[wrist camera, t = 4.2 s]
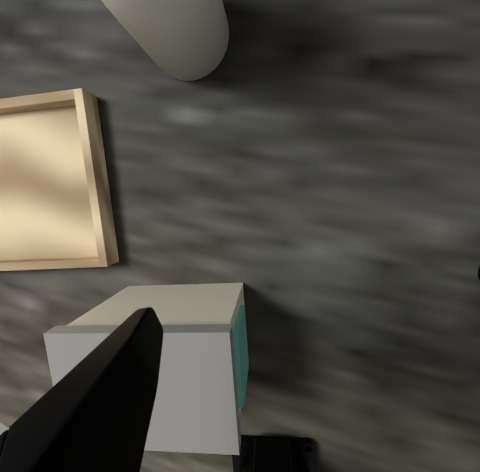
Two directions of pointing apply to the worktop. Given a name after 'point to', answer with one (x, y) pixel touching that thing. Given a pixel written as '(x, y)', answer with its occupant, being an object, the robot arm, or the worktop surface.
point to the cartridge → (177, 33)
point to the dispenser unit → (177, 360)
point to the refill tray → (54, 184)
